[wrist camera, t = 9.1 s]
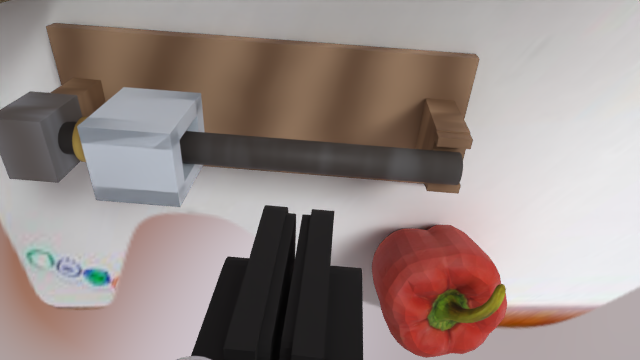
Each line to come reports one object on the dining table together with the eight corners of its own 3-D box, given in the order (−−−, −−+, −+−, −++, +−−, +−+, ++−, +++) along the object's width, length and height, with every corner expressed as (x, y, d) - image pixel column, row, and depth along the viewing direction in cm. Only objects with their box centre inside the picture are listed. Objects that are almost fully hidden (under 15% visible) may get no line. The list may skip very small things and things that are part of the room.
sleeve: (200, 93, 29) (169, 133, 24) (207, 158, 31) (180, 206, 26) (123, 87, 29) (76, 126, 24) (136, 152, 31) (96, 199, 26)
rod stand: (475, 54, 30) (517, 107, 23) (445, 178, 36) (470, 255, 28) (54, 23, 31) (-43, 64, 23) (86, 149, 36) (16, 217, 29)
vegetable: (427, 172, 35) (450, 258, 27) (517, 235, 38) (564, 331, 30) (344, 253, 41) (342, 347, 32) (429, 303, 43) (448, 402, 35)
